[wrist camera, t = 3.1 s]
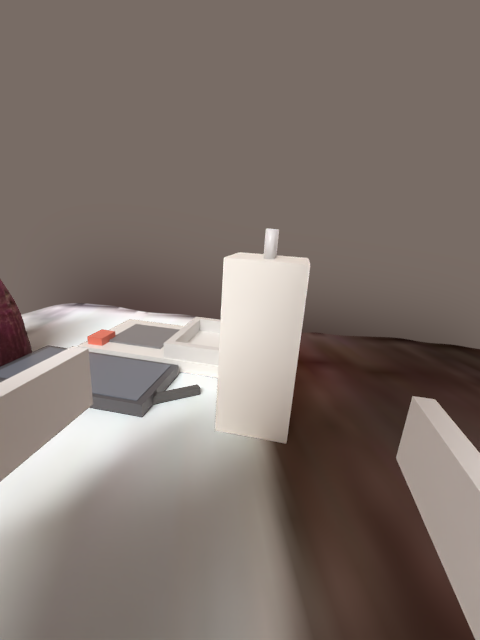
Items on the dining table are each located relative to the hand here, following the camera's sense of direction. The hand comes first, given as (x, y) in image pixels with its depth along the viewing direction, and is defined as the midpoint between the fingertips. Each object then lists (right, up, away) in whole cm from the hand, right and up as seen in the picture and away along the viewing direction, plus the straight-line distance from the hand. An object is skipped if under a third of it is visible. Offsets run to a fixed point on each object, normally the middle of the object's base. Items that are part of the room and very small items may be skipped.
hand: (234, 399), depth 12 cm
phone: (-13, -2, +14) cm, 20 cm away
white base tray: (-6, 0, +22) cm, 22 cm away
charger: (+1, -4, +11) cm, 12 cm away
